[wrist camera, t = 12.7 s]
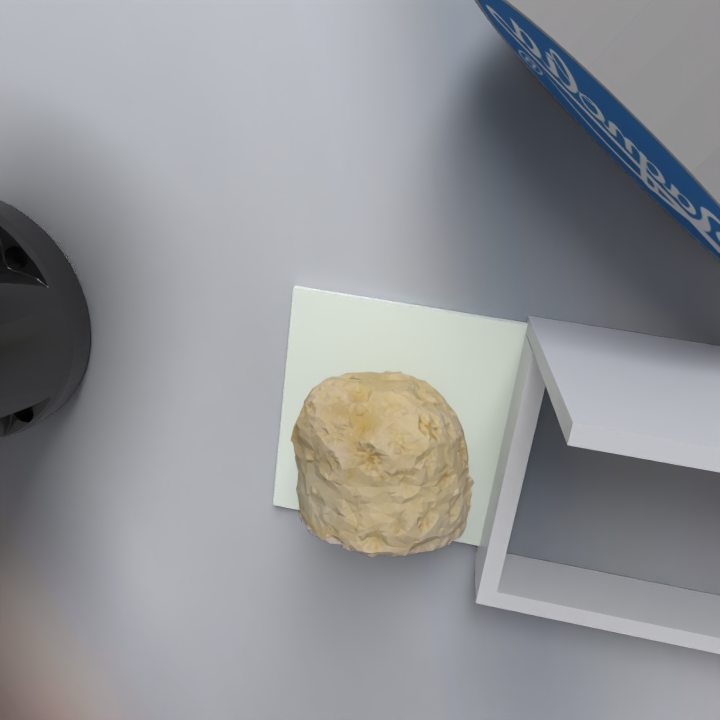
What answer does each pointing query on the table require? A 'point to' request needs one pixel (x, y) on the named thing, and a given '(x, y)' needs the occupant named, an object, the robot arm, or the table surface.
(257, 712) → the table surface
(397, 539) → the coral
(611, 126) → the sign
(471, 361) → the mat
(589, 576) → the case
